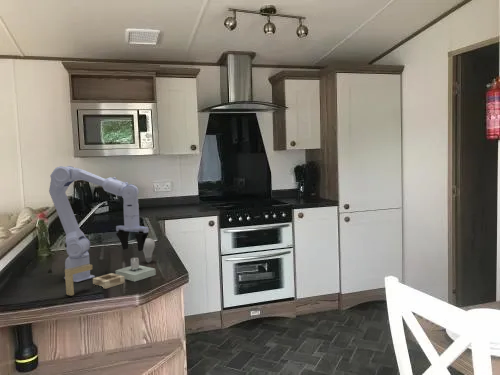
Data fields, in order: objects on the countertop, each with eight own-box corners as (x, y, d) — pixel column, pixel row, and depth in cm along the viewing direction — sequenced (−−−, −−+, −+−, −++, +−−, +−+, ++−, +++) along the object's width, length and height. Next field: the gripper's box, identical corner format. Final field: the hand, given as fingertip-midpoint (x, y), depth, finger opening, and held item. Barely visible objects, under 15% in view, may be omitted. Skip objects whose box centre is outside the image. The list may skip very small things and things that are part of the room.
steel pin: (129, 276, 155) (128, 259, 154) (135, 274, 158) (134, 257, 157) (135, 277, 154) (134, 259, 153) (141, 275, 156) (140, 257, 156)
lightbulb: (141, 265, 172) (140, 240, 171) (141, 261, 178) (140, 237, 177) (156, 263, 174) (155, 239, 173) (155, 260, 180) (154, 236, 179)
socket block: (93, 285, 145) (92, 278, 145) (112, 279, 152) (111, 273, 152) (105, 288, 141) (105, 281, 140) (124, 282, 147) (124, 276, 147)
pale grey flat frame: (115, 276, 155) (115, 270, 155) (136, 270, 163) (136, 264, 163) (134, 281, 148) (134, 275, 148) (155, 275, 156) (155, 268, 156)
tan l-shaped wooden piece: (66, 294, 135) (64, 269, 134) (89, 287, 141) (87, 263, 141) (70, 295, 133) (69, 270, 132) (93, 288, 140) (92, 264, 139)
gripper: (109, 216, 154) (111, 250, 155) (139, 217, 148) (141, 253, 149) (122, 213, 160) (124, 246, 161) (151, 215, 154) (152, 249, 155)
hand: (133, 249), depth 156 cm, fingers open, 7 cm apart
